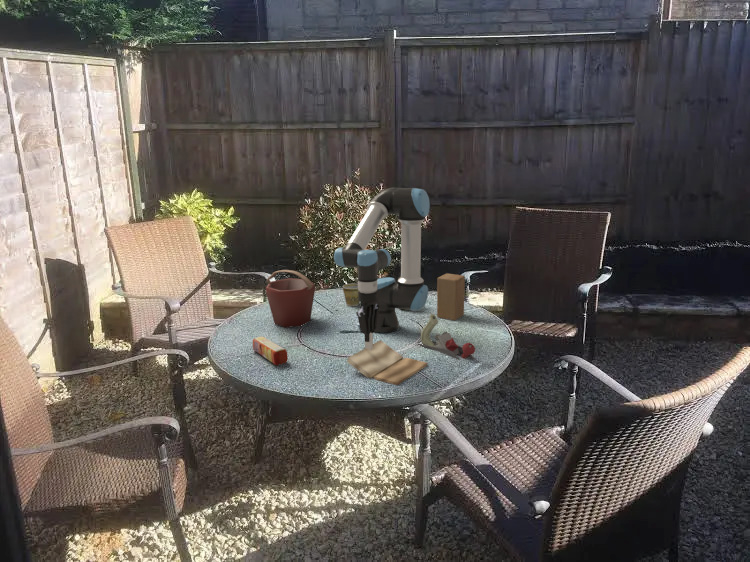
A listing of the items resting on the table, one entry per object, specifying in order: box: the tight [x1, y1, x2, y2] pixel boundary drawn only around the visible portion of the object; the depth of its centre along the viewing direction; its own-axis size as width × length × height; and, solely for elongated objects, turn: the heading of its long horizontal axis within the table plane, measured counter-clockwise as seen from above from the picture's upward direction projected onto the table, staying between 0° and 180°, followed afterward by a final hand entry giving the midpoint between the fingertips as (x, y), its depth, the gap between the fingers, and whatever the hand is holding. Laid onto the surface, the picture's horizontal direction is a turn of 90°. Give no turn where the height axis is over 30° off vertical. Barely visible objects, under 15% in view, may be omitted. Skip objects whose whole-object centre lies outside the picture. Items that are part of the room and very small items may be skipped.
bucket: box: [265, 269, 316, 328], centre depth 300 cm, size 24×22×25 cm
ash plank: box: [346, 339, 404, 379], centre depth 246 cm, size 13×22×2 cm, turn 146°
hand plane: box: [417, 313, 477, 361], centre depth 260 cm, size 7×31×15 cm, turn 38°
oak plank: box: [374, 357, 428, 386], centre depth 241 cm, size 10×22×2 cm, turn 146°
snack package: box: [252, 335, 289, 366], centre depth 259 cm, size 21×7×7 cm, turn 35°
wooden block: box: [436, 272, 466, 321], centre depth 304 cm, size 10×10×20 cm
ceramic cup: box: [342, 283, 361, 307], centre depth 327 cm, size 13×10×10 cm
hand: (368, 348), depth 247 cm, fingers closed
